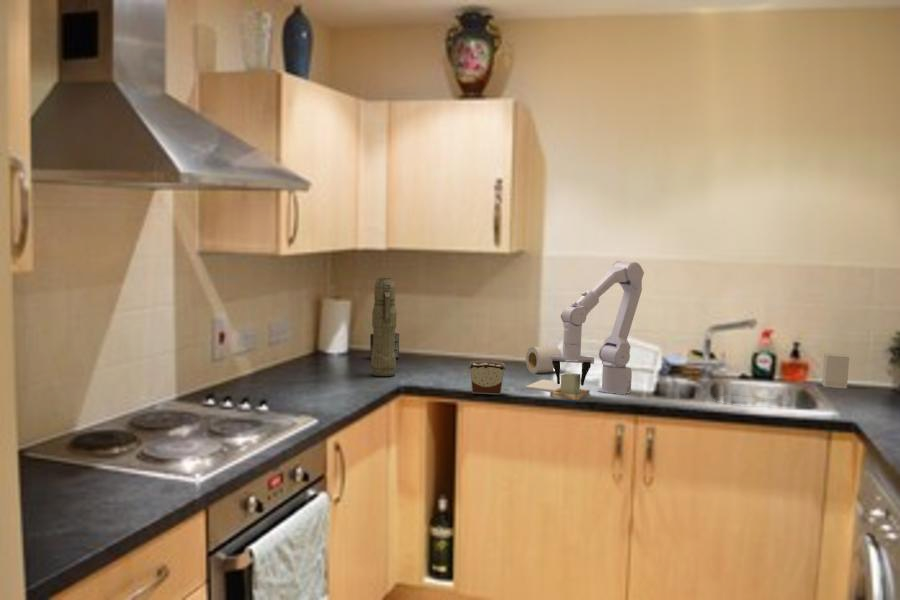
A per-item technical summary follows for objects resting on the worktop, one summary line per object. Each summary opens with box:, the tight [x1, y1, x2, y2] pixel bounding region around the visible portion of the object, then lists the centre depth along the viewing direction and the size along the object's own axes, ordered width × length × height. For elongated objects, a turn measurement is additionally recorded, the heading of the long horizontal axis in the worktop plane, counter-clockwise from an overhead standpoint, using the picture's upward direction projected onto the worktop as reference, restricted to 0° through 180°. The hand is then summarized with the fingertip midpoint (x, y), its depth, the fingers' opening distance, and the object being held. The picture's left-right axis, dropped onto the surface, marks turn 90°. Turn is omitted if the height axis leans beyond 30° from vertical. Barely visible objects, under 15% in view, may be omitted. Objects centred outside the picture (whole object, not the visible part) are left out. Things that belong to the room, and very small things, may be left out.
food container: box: [468, 360, 507, 395], centre depth 259 cm, size 12×6×10 cm, turn 84°
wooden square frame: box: [549, 387, 590, 401], centre depth 257 cm, size 10×11×2 cm
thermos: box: [370, 277, 398, 377], centre depth 285 cm, size 9×12×35 cm
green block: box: [560, 372, 581, 395], centre depth 257 cm, size 4×6×7 cm
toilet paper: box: [525, 345, 563, 374], centre depth 298 cm, size 10×10×10 cm
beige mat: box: [525, 379, 561, 393], centre depth 270 cm, size 11×15×1 cm
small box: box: [369, 332, 400, 359], centre depth 319 cm, size 11×6×10 cm, turn 130°
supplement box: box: [821, 352, 850, 389], centre depth 280 cm, size 7×7×13 cm
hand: (570, 384), depth 257 cm, fingers open, 7 cm apart
